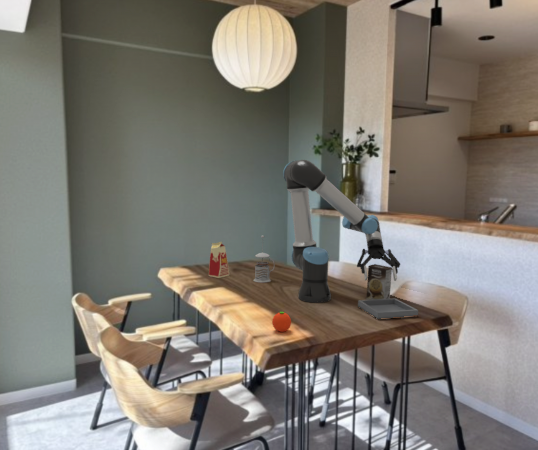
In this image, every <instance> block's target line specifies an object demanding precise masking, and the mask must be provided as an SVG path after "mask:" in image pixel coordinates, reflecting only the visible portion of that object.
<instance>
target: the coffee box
mask: <svg viewBox="0 0 538 450" xmlns="http://www.w3.org/2000/svg"><path fill="white" fill-rule="evenodd" d="M392 275H393V272H392V267H391V266H387V265H382V264H376V263H375V264H370V265H368V268H367V277H368V278H367V285H366V286H367V287H366V298H365V300H375V299H391V298H390V297H391V285H392Z"/></svg>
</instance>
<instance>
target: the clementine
mask: <svg viewBox="0 0 538 450" xmlns="http://www.w3.org/2000/svg"><path fill="white" fill-rule="evenodd" d="M271 321H272V323H271V324H272V327H273V328H274V330H275V331H277V332H279V333H280V332H281V333H282V332H283V333H284V332H286V331H288V330H289V329H290V328H291V325H292V319H291V317H290V316H289V314H288V313H286V312H284V311H279V312H277V313H275V315H274V316H273V317H272V320H271Z"/></svg>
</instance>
